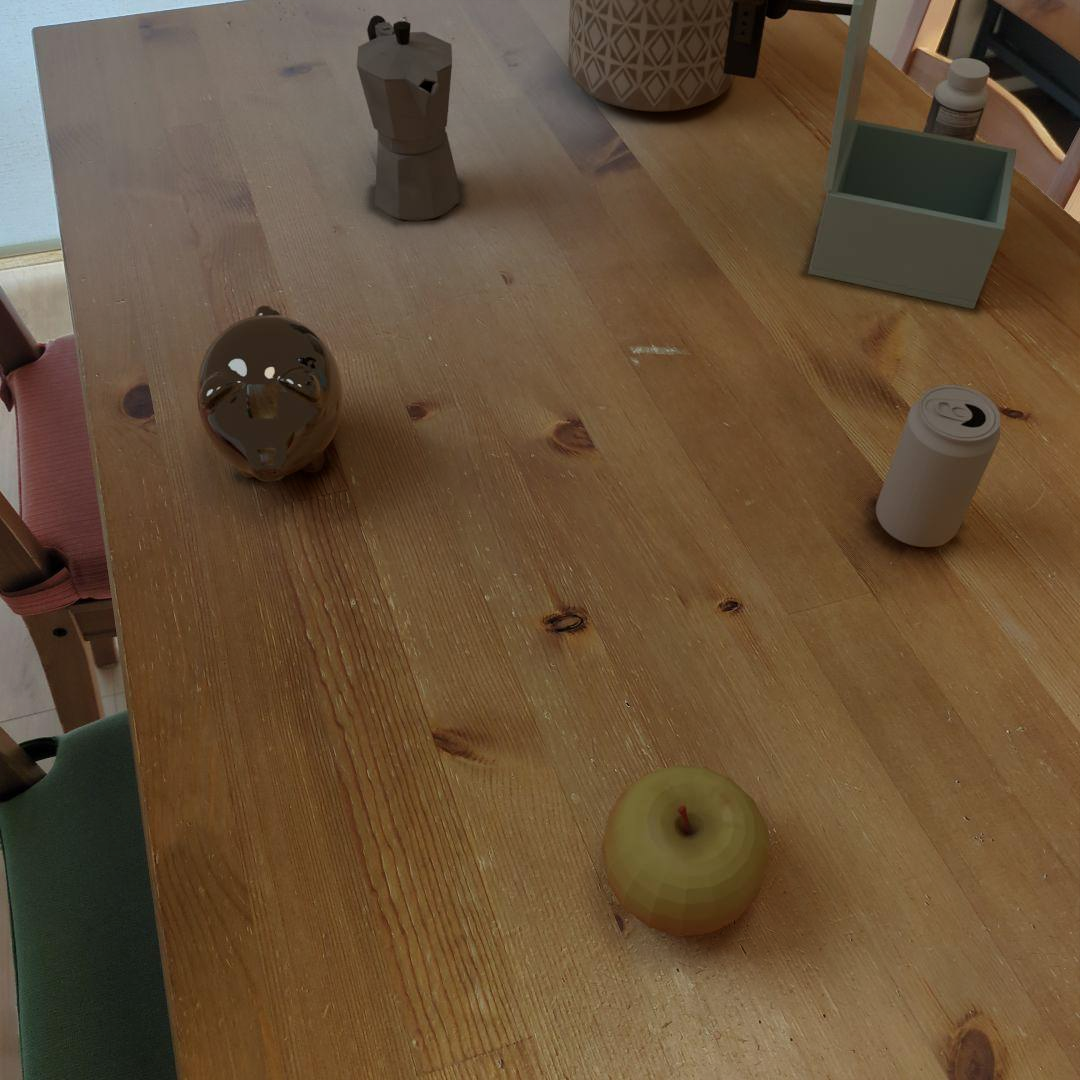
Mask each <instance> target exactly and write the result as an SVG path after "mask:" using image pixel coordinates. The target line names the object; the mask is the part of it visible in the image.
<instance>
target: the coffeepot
mask: <svg viewBox="0 0 1080 1080" xmlns="http://www.w3.org/2000/svg"><path fill="white" fill-rule="evenodd" d="M366 32H367V38H368V41H366V42H365V43H363V44H361V45H359V46H357V56H356V57H357V59H356V70H357V72H358V76H359V80H360V83H361V86H362V90H363V93H364V97H365V101H366V105H367V108H368V111H369V115H370V119H371V122H372V123H371V124H372V126H373V129H374V130H376V131H377V145H376V146H377V147H376V167H375V168H376V171H375V189H374V190H375V192H374V206H375V207H377V208H378V209H379V210H380V211H381V212H383V213H385V214H386V215H388V216H390V217H391V218H394V219H395V218H396V219H397V220H398V219H399V220H404V221H410V222H411V221H415V222H416V221H417V222H418V221H419V222H420V221H427V220H432V219H436V218H438V217H441V216H443V215H445V214H448V212H450V211H451V210H453V209H454V208H455V206H456V205H457V204H459V203H460V182H459V178H458V173H457V170H456V165H455V161H454V156H453V153H452V150H451V145H450V141H449V137H448V132H447V131H446V127H447V126H448V116H449V106H450V105H449V104H450V91H451V82H452V68H453V50H452V49H453V48H452V43H451V42H447V41H445V40H443V39H441V38H438V37H437V36H434V35H432V34H429V33H427V32H426V31H411V22H409V21H407V20H399V21H396V22H394V23H393V25H392V24H391V23H390V22H389V21H387V20H386V19H385V18H384V17H383V16H381V15H378V14H377V15H373V16H372V17H370V20H369V21H368V25H367V27H366Z"/></svg>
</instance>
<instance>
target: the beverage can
mask: <svg viewBox="0 0 1080 1080" xmlns="http://www.w3.org/2000/svg"><path fill="white" fill-rule="evenodd" d="M1000 426H1001V414H1000V411H999V409H998V407H997V406H996V404H995V403H994V402H993V401H992V399H990V398H989V397H988V396H987V395H985V394H983V393H982V392H980V391H978V390H976V389H974V388H971V387H969V386H964V385H959V384H942V385H937V386H933V387H931V388H929V389H928V390H926V391H924V392H923V393H922V394H921V396H920V397H919V399H918V400H917V401H916V402H915V403H913V404H912V406H911V407H910V409H909V411H908V414H907V417H906V419H905V422H904V425H903V428H902V431H901V433H900V436H899V439H898V441H897V445H896V448H895V450H894V454H893V456H892V459H891V461H890V465H889V467H888V470H887V472H886V476H885V479H884V481H883V484H882V486H881V490H880V493H879V495H878V498H877V501H876V503H875V514H876V518H877V521H878V522H879V524H880V526H881V527H882V529H884V530H885V532H887V534H889V535H890V536H891V537H893V538H894V539H896V540H897V541H900V542H901V543H904V544H906V545H910V546H913V547H920V548H933V547H937V546H942V545H944V544H946V543H948V542H949V541H950V540H952V539H953V538H954V537H955V536H956V535H957V534H958V531H959V530H960V527H961V525H962V522H963V520H964V518H965V516H966V514H967V512H968V509H969V507H970V506H971V503H972V500H973V499H974V496H975V494H976V492H977V489H978V487H979V485H980V483H981V481H982V479H983V476H984V475H985V472H986V470H987V468H988V465H989V463H990V460H991V459H992V457H993V455H994V452H995V450H996V448H997V446H998V443H999V441H1000V438H1001V428H1000Z"/></svg>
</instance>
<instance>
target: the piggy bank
mask: <svg viewBox="0 0 1080 1080" xmlns="http://www.w3.org/2000/svg"><path fill="white" fill-rule="evenodd" d="M195 393H196V395H195V396H196V406H197V412H198V416H199V421H200V423H201V426H202V429H203V431H204V433H205V435H206V437H207V439H208V441H209V442H210V444H211V445H212V447H213V448H214V450H216V452H217V453H218V454H219V455H220V456H221V457H222V458H223V459H224V460H226V461H227V462H228V463H229V464H231V465H233V466H234V467H236V468H238V469H239V472H240V473H241V474H242V475H243V476H244V477H246V478H249V479H252V478H255V479H257V480H259V481H262V482H268V483H269V482H276V481H280V480H282V479H283V478H285V477H286V476H289V475H291V474H294V473H296V472H298V471H300V470H303V471H304V472H306V473H312V474H313V473H317V472H319V471H320V470H321V469H323V467H324V465H325V456H324V451H325V450H326V449H327V448H328V446H329V445H330V443H331V442H332V440H333V439H334V437H335V434H336V432H337V430H338V427H339V424H340V421H341V417H342V412H343V406H344V386H343V379H342V374H341V371H340V367H339V364H338V362H337V360H336V358H335V355H334V354H333V352H332V350H331V348H330V347H329V345H328V344H327V343H326V341H324V339H323V338H322V337H321V336H320V335H319V334H318V333H317V332H316V331H314V330H313V329H312V328H311V327H309V326H308V325H306V324H304V323H302V322H301V321H298V320H296V319H294V318H291V317H288V316H284V315H282V314H281V313H280V312H279V311H278V310H276V309H274V308H273V307H272V306H269V305H260V306H258V308H256V310H255V312H254V315H252V316H248V317H246V318H243V319H240V320H238V321H236V322H234V323H232V324H230V325H229V326H227V327H226V328H225V329H224V330H222V331H220V333H219V334H218V335H217V336H216V337H215V338H214V339H213V340H212V342H211V343H210V345H209V346H208V347H207V349H206V351H205V353H204V355H203V357H202V359H201V362H200V365H199V369H198V372H197V379H196V392H195Z"/></svg>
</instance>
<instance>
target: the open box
mask: <svg viewBox="0 0 1080 1080" xmlns="http://www.w3.org/2000/svg"><path fill="white" fill-rule="evenodd" d="M1016 157H1017V149H1016V148H1011V147H1005V146H1000V145H995V144H990V143H984V142H978V141H968V140H963V139H958V138H952V137H947V136H941V135H936V134H930V133H925V132H923V131H919V130H913V129H909V128H908V129H907V128H902V127H898V126H893V125H887V124H881V123H875V122H870V121H864V120H859V119H855V122H854V125H853V128H852V131H851V134H850V137H849V141H848V144H847V147H846V150H845V153H844V156H843V159H842V162H841V165H840V168H839V171H838V174H837V177H836V180H835V183H834V186H833V189H832V190H828V189H827V192H826V197H825V200H824V204H823V209H822V213H821V217H820V222H819V226H818V231H817V234H816V239H815V242H814V247H813V251H812V254H811V260H810V263H809V267H808V272H807V273H808V275H812V276H817V277H820V278H821V277H822V278H827V279H831V280H835V281H840V282H845V283H850V284H854V285H858V286H862V287H866V288H867V287H868V288H873V289H877V290H882V291H887V292H891V293H894V294H895V293H896V294H900V295H904V296H909V297H914V298H919V299H924V300H928V301H933V302H938V303H943V304H946V305H952V306H957V307H961V308H966V309H971V310H974V309H975V307H976V305H977V302H978V300H979V297H980V294H981V292H982V289H983V287H984V284H985V282H986V279H987V277H988V274H989V272H990V269H991V266H992V264H993V261H994V259H995V256H996V253H997V252H998V248H999V245H1000V243H1001V241H1002V238H1003V236H1004V233H1005V230H1006V224H1007V218H1008V212H1009V211H1008V210H1009V206H1010V205H1009V204H1010V196H1011V190H1012V185H1013V176H1014V171H1015V170H1014V169H1015V163H1016Z"/></svg>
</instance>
